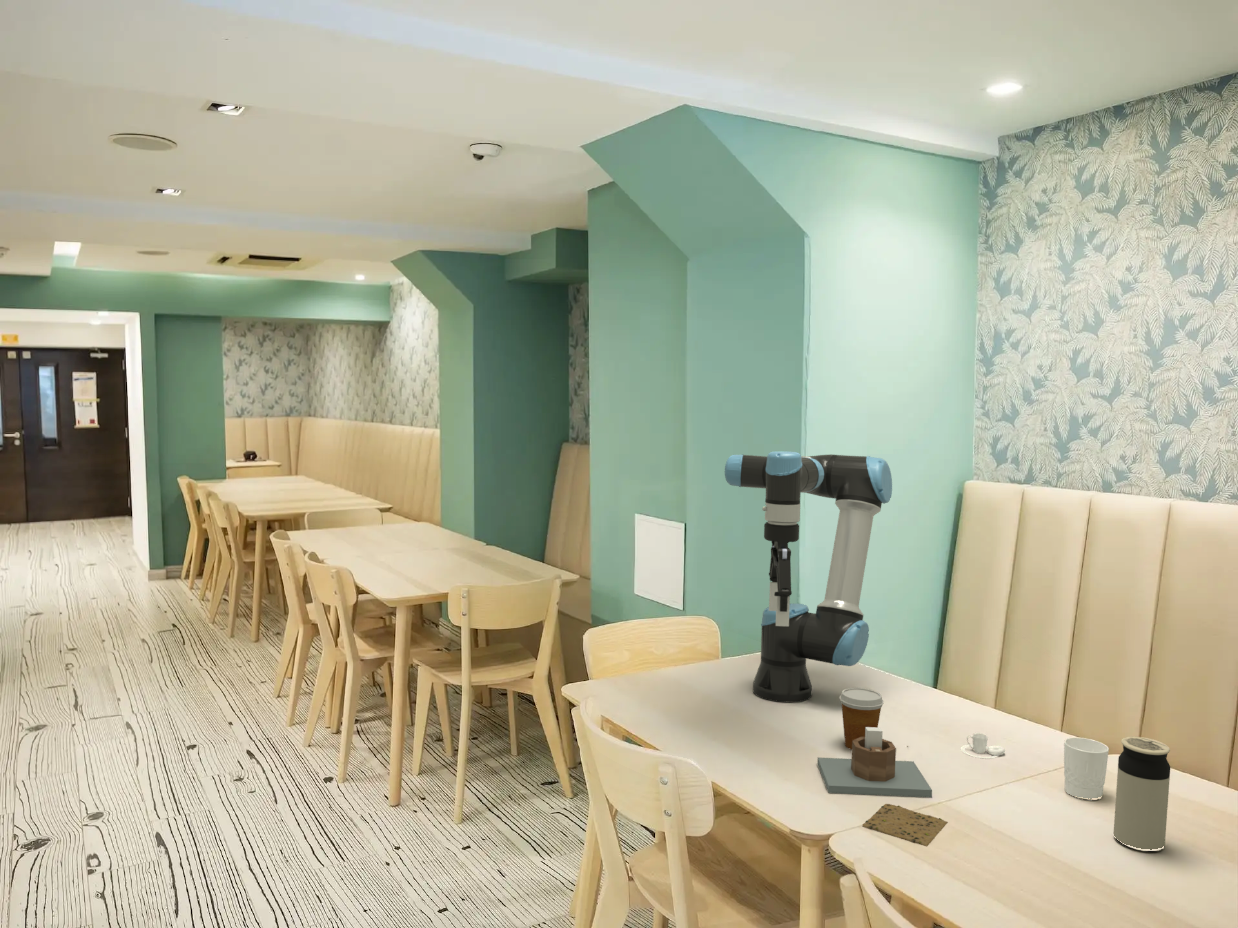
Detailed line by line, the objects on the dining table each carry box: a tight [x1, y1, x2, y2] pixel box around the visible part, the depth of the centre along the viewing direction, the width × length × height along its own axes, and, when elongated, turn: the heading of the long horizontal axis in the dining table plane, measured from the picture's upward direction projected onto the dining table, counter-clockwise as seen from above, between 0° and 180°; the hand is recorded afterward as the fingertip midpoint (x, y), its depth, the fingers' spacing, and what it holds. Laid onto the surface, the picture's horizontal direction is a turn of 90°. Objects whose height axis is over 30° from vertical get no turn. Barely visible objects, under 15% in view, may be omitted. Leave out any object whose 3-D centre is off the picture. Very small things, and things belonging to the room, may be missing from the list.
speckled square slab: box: [861, 803, 949, 847], centre depth 170 cm, size 12×12×1 cm
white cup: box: [1063, 736, 1110, 799], centre depth 184 cm, size 8×8×10 cm
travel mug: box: [1113, 736, 1171, 850], centre depth 164 cm, size 8×8×18 cm
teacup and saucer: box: [960, 732, 1006, 760], centre depth 205 cm, size 9×8×4 cm
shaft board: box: [816, 727, 933, 798], centre depth 189 cm, size 14×20×10 cm
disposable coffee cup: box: [839, 687, 885, 751], centre depth 206 cm, size 10×10×12 cm
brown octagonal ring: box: [850, 737, 897, 782], centre depth 189 cm, size 8×8×6 cm
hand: (778, 618), depth 205 cm, fingers open, 13 cm apart
